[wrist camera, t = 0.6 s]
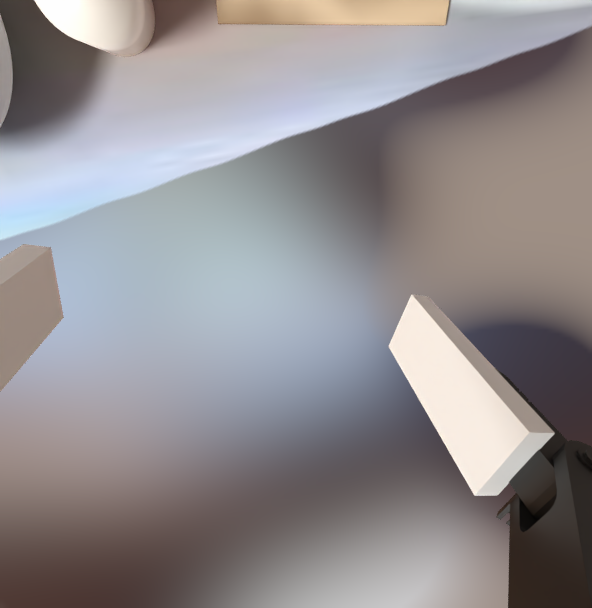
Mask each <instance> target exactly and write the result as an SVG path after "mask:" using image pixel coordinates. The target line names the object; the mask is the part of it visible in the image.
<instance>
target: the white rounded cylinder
mask: <svg viewBox="0 0 592 608" xmlns="http://www.w3.org/2000/svg"><path fill="white" fill-rule="evenodd" d="M35 2H36V4H37V5H38V7H39V8H40V10H41V11H42V12H43V14H44V15H45V16H46V17H47V18H48V20H49V21H50V22H51V23H52V24H53V25H54V26H55V27H57V28H58V29H59V30H60V31H62V32H63V33H65V34H66V35H68V36H70V37H72V38H74V39H76V40H78V41H81V42H83V43H86V44H88V45H91V46H93V47H96V48H98V49H101V50H103V51H106V52H108V53H111V54H113V55H116V56H121V57H131V56H135V55H137V54H139V53H141V52H142V51H143V50H145V49H146V48H147V46H148V45H149V43H150V41H151V40H152V37H153V34H154V29H155V13H154V7H153V3H152V0H35Z"/></svg>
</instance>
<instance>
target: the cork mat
mask: <svg viewBox="0 0 592 608" xmlns="http://www.w3.org/2000/svg"><path fill="white" fill-rule="evenodd" d="M448 5H449V0H216V6H217V16H218V24H289V25H434V26H444V25H445V23H446V17H447V11H448Z"/></svg>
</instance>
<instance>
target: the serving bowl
mask: <svg viewBox="0 0 592 608" xmlns="http://www.w3.org/2000/svg"><path fill="white" fill-rule="evenodd" d="M12 85H13V70H12V59H11V52H10V47H9V42H8V38H7V34H6V30H5V27H4V24H3V21H2V18H1V15H0V127H1V125H2V123H3V121H4V119H5V117H6V114H7V112H8V108H9V105H10V101H11V94H12Z"/></svg>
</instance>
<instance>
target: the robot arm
mask: <svg viewBox="0 0 592 608" xmlns="http://www.w3.org/2000/svg"><path fill="white" fill-rule="evenodd" d="M62 319H63V312H62V306H61V301H60V295H59V290H58V284H57V279H56V273H55V268H54V263H53V257H52V251H51V247H43V246H35V245H27V244H23V245H21V246H20V247H18V248H17V249H15V250H14V251H12V252H11V253H9V254H7V255H6V256H4V257H3V258H1V259H0V392H1V390H2V389H3V388H4V387H5V386H6V384H7V383H8V382H9V381H10V380H11V379H12V377H13V376H14V375H15V374H16V373H17V372H18V370H19V369H20V368H21V367H22V366H23V364H24V363H25V362H26V361H27V360H28V359H29V357H30V356H31V355H32V354H33V353H34V351H35V350H36V349H37V348H38V347H39V346H40V344H41V343H42V342H43V341H44V340H45V339H46V337H47V336H48V335H49V334H50V333H51V332H52V330H53V329H54V328H55V327H56V325H57V324H58V323H59V322H60V321H61V320H62ZM389 348H390V350H391V352H392V353H393V355H394V357H395V358H396V360H397V362H398V364H399V365H400V367H401V369H402V371H403V372H404V374H405V376H406V377H407V379H408V381H409V383H410V385H411V386H412V388H413V390H414V391H415V393H416V395H417V396H418V398H419V400H420V402H421V403H422V405H423V407H424V409H425V410H426V412H427V414H428V416H429V417H430V419H431V421H432V423H433V424H434V426H435V428H436V429H437V431H438V433H439V435H440V437H441V438H442V440H443V442H444V443H445V445H446V447H447V449H448V450H449V452H450V454H451V456H452V457H453V459H454V461H455V462H456V464H457V466H458V468H459V469H460V471H461V473H462V475H463V476H464V478H465V480H466V482H467V483H468V485H469V486H470V488H471V490H472V492H473V494H474V495H475V496H483V495H485V496H486V495H487V496H488V495H498V494H499V493H500V492H501V491H502V490H503V489H504V488H505V487H506V486H507V484H508V483H510V484H511V486H512V487H513V489H514V490H515V491H516V494H515V495H514V496H513V497H512V498H511V499H510V500H509V501H508V502H507V503H506V504H505V505H504V506H503V507H502V508H501V509H500V510H499V511H498V514H497V518H499V519H502V518H503V517H504V516H505V515H506V514H507V513H510V520H509V521H508V522H507V523H506V524H508V525H509V526H510V542H509V545H510V546H509V594H508V596H509V597H508V608H592V447H591V446H589V445H587V444H584V443H582V442H579V441H572V440H570V441H567V440H566V439H565V438H564V437H563V436H562V434H561V433H559V431H558V430H557V429H556V428H555V427H554V426H553V425H552V424H551V423H550V422H549V421H548V420H547V419H546V418H545V417H544V415H543V414H542V413H541V412H540V411H539V410H538V409H537V408H536V407H535V406H534V405H533V404H532V403H531V402H528V399H527V397H526V396H525V395H524V394H523V393H522V392H519V389H518V388H517V387H516V386H515V385H514V384H513V383H512V381H510V379H509V378H508V377H506V376H505V375H504V374H502V373H501V372H500V371H498V370H497V369H496V368H494V367H493V366H492V365H491V364H490V363H489V362H488V360H487V359H485V357H484V356H483V355H482V354H481V353H480V352H479V351H478V350H477V349H476V348H475V347H474V345H473V344H472V343H471V342H470V341H469V340H468V339H467V338H466V337H465V336H464V335H463V334H462V332H461V331H459V329H458V328H457V327H456V326H455V325H454V324H453V323H452V322H451V321H450V320H449V319H448V317H447V316H446V315H445V314H444V313H443V312H442V311H441V310H440V309H439V308H438V307H437V306H436V304H435V303H434V302H433V301H432V300H431V299H430V298H429V297H428V296H420V295H413V294H412V295H411V297H410V299H409V301H408V304H407V306H406V308H405V310H404V313H403V315H402V317H401V319H400V322H399V324H398V326H397V328H396V331H395V333H394V335H393V338H392V340H391V342H390V344H389Z"/></svg>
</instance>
